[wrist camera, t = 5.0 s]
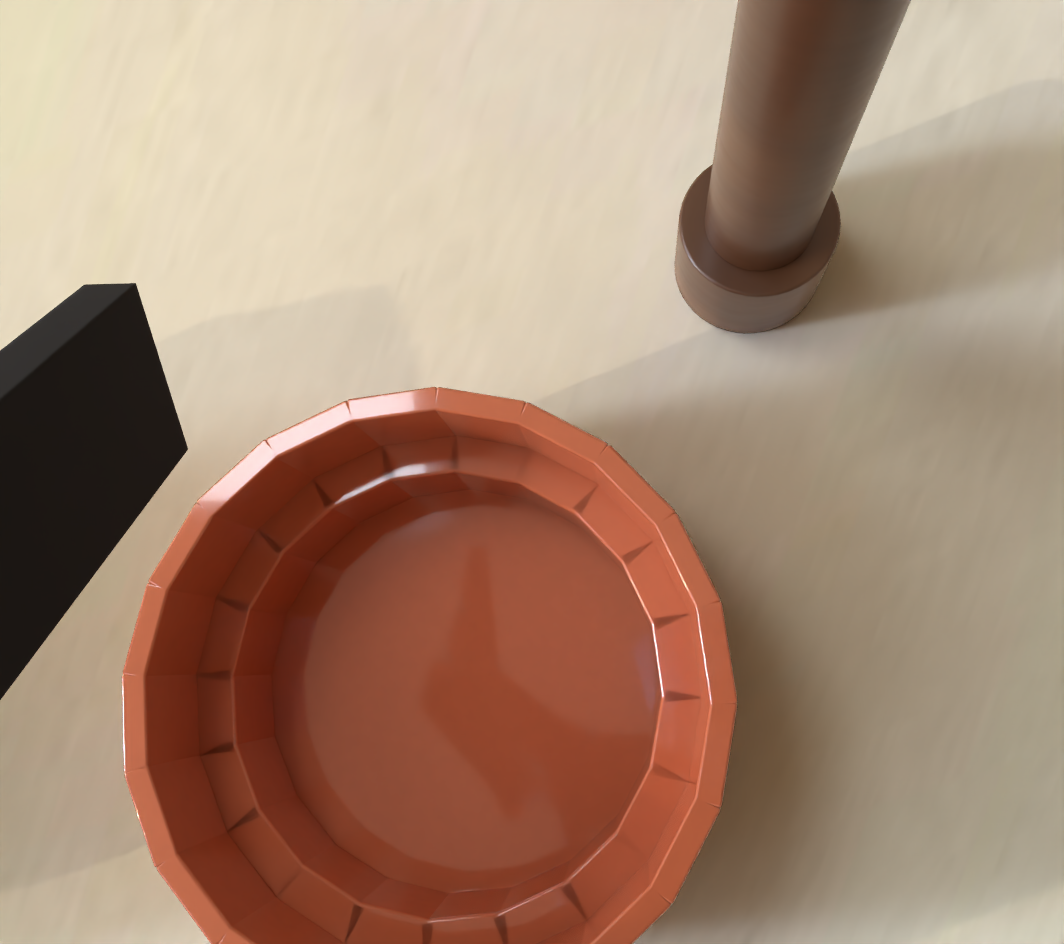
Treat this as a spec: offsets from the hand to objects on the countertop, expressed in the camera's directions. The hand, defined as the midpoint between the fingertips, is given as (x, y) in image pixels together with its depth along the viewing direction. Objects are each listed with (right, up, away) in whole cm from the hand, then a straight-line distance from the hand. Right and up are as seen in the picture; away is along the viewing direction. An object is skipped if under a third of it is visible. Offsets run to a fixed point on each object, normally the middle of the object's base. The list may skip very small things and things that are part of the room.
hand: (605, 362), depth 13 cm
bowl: (-3, -8, +14) cm, 16 cm away
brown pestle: (+6, +5, +16) cm, 17 cm away
